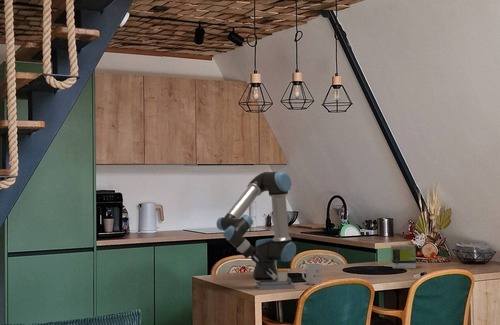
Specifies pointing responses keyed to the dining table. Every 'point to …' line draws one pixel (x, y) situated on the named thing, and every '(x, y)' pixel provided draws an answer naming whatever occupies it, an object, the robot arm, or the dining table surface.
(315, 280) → the mug
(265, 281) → the grey tray
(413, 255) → the tea box
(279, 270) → the grey orange-topped container
